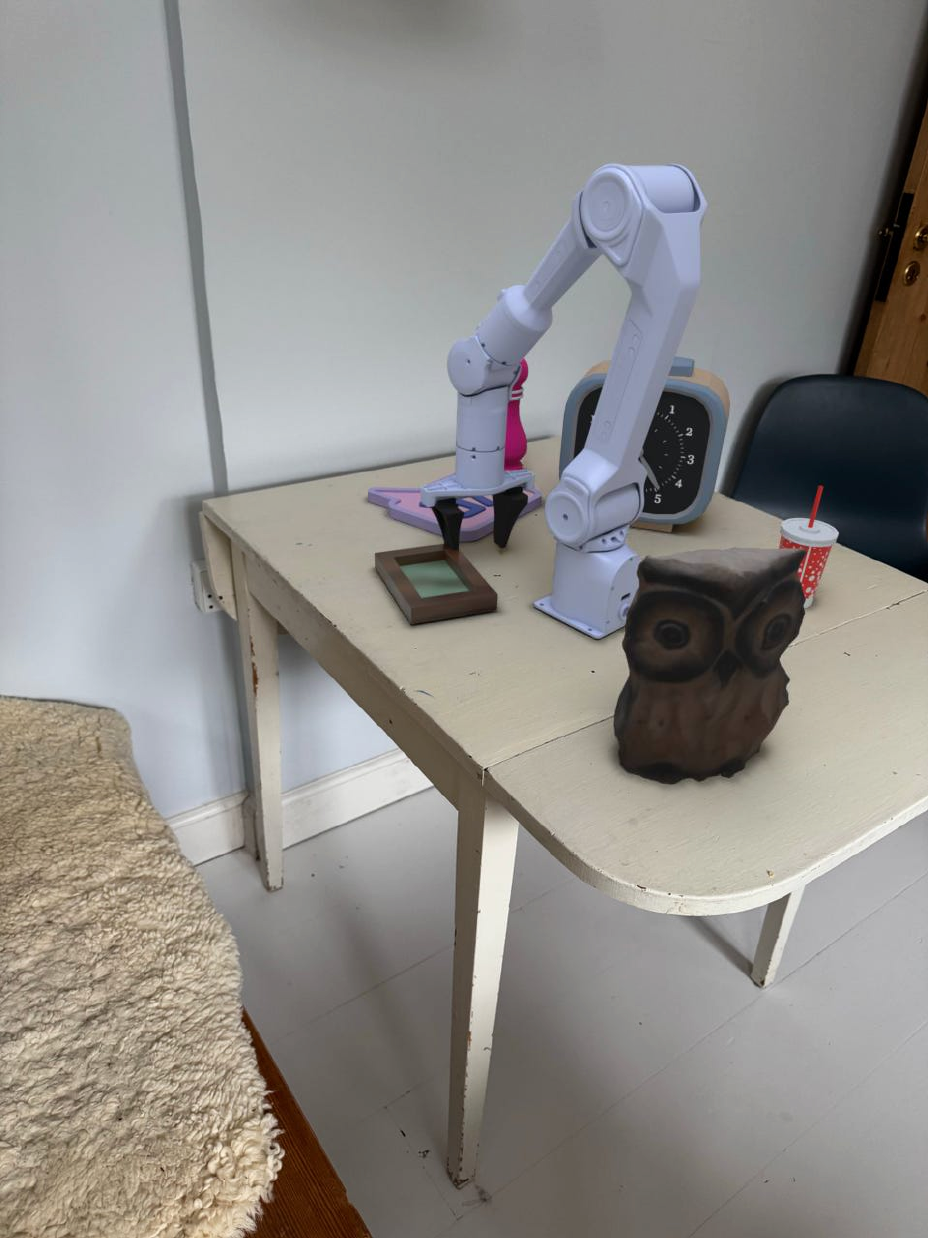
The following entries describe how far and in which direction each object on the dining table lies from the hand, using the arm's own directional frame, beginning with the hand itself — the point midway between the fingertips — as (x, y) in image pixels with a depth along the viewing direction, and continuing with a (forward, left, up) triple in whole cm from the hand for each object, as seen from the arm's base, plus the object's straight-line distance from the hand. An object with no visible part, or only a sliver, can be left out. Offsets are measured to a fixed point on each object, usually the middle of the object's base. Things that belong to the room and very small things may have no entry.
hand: (476, 550), depth 104 cm
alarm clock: (-4, -26, -1) cm, 27 cm away
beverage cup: (-31, -21, -1) cm, 38 cm away
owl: (-38, +11, -1) cm, 40 cm away
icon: (+15, -9, -1) cm, 17 cm away
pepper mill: (+19, -23, -1) cm, 30 cm away
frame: (-3, +10, -1) cm, 10 cm away
